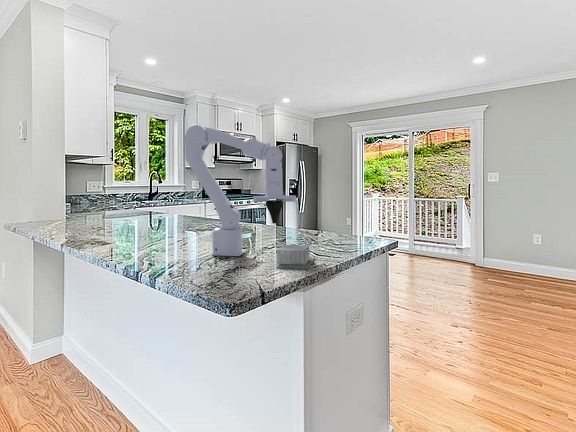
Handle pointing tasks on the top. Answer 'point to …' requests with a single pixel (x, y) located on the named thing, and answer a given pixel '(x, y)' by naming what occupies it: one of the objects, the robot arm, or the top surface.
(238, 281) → the top surface
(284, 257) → the medicine box
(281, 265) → the slate mat
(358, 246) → the top surface
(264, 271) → the top surface
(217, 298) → the top surface
